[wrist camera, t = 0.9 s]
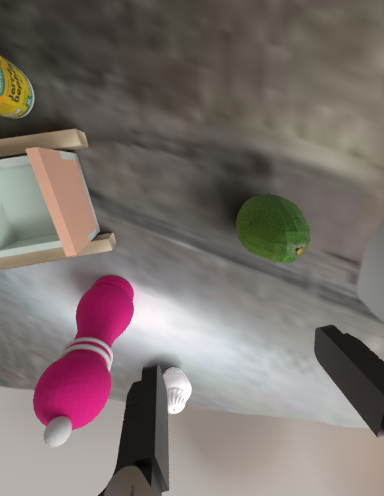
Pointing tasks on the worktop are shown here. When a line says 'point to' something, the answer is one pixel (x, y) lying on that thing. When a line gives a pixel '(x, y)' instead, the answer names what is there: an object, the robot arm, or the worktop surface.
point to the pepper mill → (84, 362)
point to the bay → (61, 143)
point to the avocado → (272, 228)
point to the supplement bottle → (14, 91)
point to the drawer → (44, 204)
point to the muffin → (176, 389)
